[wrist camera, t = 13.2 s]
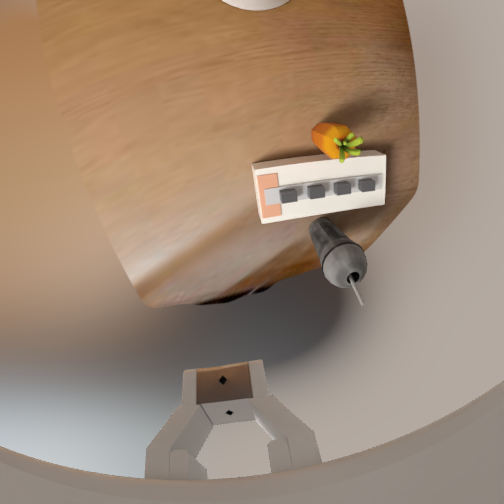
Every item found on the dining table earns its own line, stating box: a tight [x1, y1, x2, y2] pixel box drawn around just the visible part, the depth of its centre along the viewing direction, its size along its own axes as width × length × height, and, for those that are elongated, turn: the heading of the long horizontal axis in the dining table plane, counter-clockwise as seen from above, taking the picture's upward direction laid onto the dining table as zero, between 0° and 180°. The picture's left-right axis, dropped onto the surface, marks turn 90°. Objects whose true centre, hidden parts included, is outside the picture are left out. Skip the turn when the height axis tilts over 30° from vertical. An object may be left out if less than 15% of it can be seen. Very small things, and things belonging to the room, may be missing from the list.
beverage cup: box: [309, 218, 367, 306], centre depth 44 cm, size 7×7×20 cm
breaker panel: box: [252, 150, 386, 224], centre depth 45 cm, size 9×22×6 cm, turn 98°
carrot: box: [312, 123, 364, 163], centre depth 37 cm, size 5×5×15 cm
